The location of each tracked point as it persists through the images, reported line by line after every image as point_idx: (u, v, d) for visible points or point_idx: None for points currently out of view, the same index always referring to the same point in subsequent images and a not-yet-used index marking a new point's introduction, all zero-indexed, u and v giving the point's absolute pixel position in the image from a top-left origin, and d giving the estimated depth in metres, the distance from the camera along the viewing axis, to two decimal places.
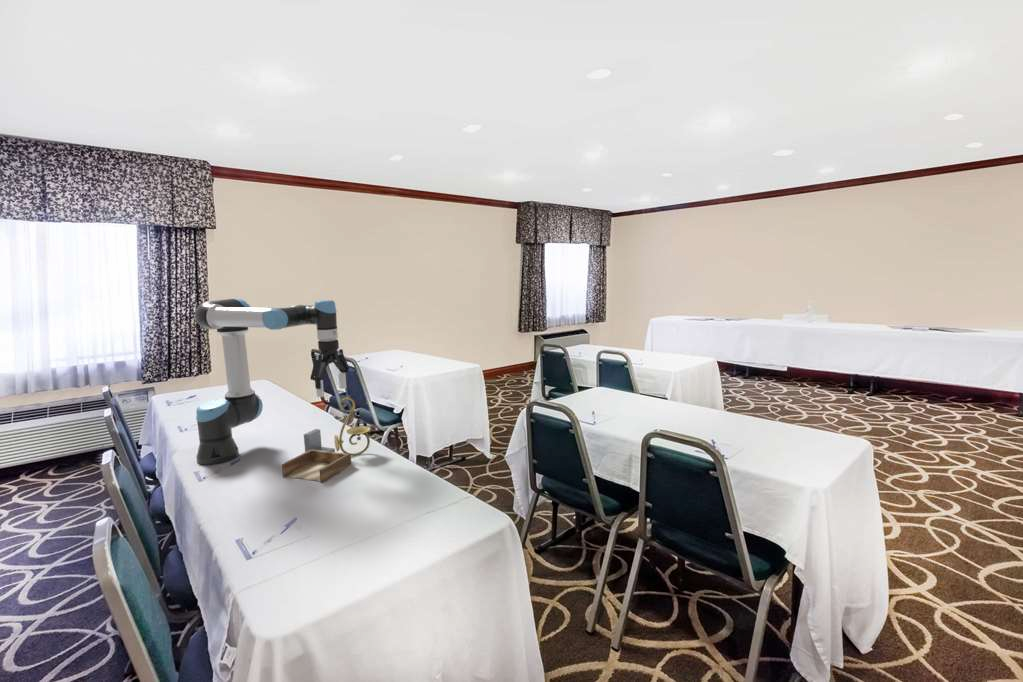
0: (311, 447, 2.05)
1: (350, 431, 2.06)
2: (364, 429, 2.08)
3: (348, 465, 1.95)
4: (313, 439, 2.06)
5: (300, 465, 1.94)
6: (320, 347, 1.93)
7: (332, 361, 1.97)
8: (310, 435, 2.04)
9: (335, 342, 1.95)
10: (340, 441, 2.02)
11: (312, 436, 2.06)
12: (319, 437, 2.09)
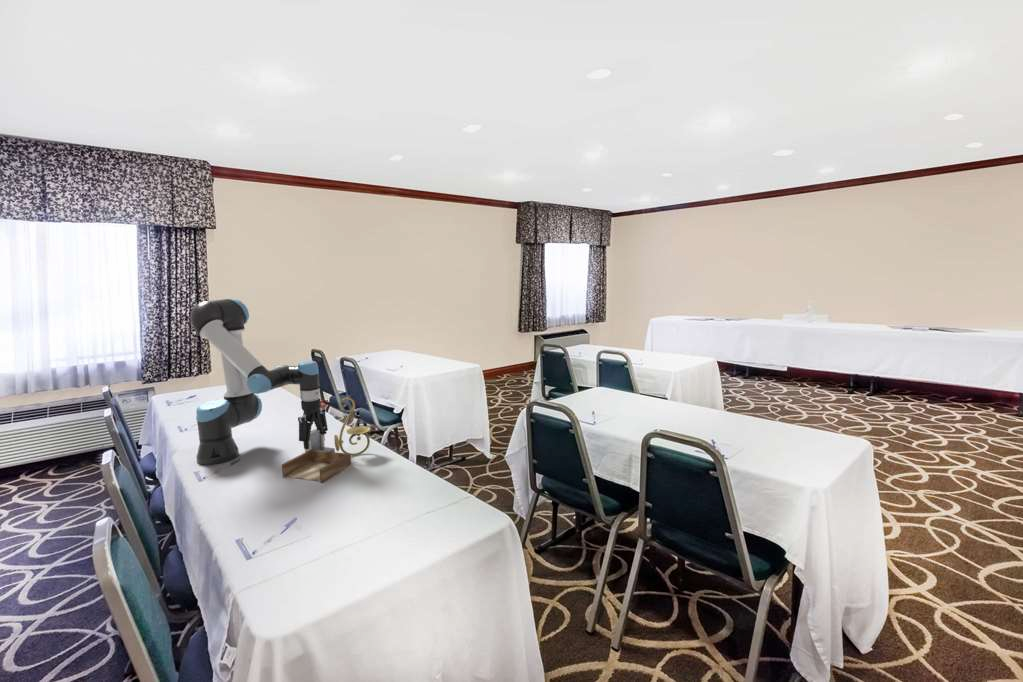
0: (311, 447, 2.05)
1: (350, 431, 2.06)
2: (364, 429, 2.08)
3: (348, 465, 1.95)
4: (313, 439, 2.06)
5: (300, 465, 1.94)
6: (303, 407, 2.02)
7: (315, 419, 2.05)
8: (310, 435, 2.04)
9: (317, 402, 2.03)
10: (340, 441, 2.02)
11: (312, 436, 2.06)
12: (319, 437, 2.09)
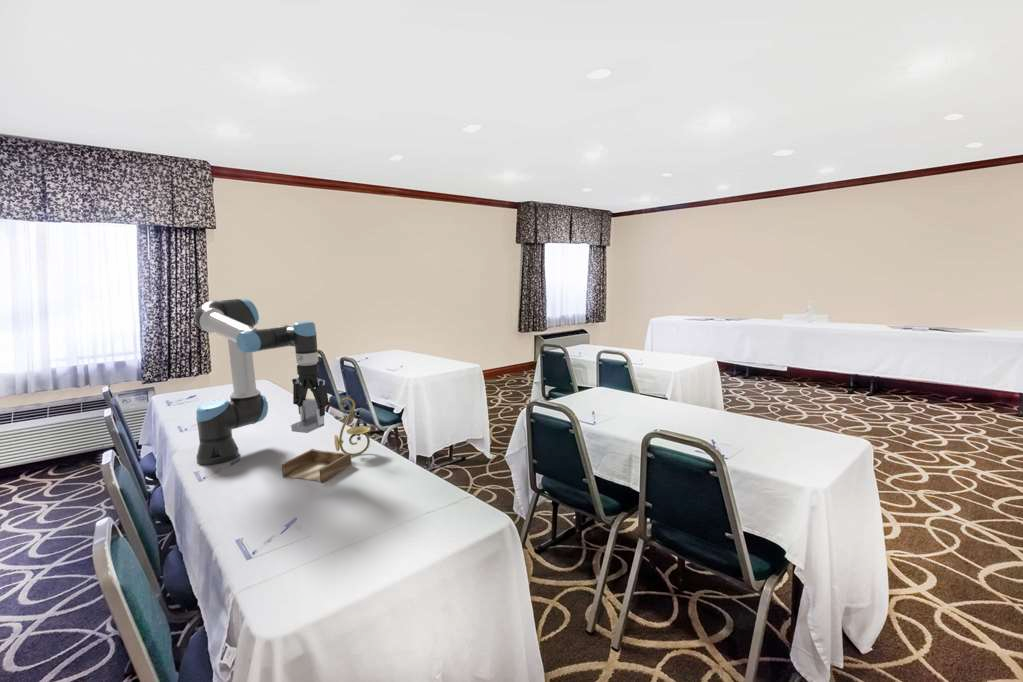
0: (306, 415, 1.88)
1: (350, 431, 2.06)
2: (364, 429, 2.08)
3: (348, 465, 1.95)
4: (308, 407, 1.87)
5: (300, 465, 1.94)
6: None
7: (308, 387, 1.85)
8: (304, 401, 1.87)
9: (300, 368, 1.81)
10: (340, 441, 2.02)
11: (307, 404, 1.87)
12: (315, 409, 1.86)
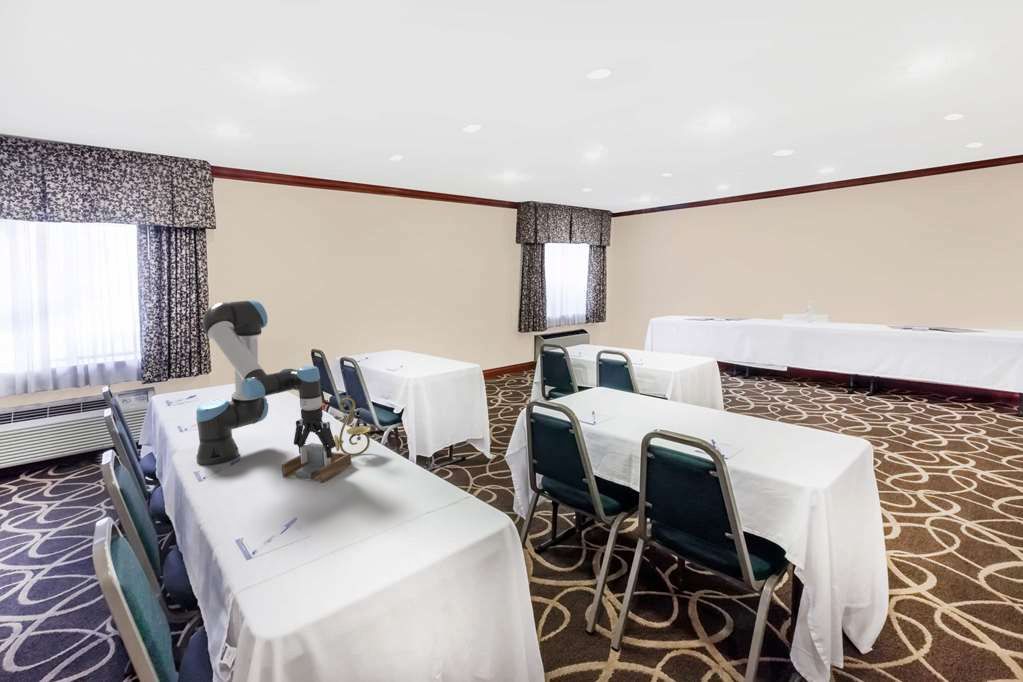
0: (309, 459, 1.90)
1: (350, 431, 2.06)
2: (364, 429, 2.08)
3: (348, 465, 1.95)
4: (312, 452, 1.90)
5: (300, 465, 1.94)
6: None
7: (311, 431, 1.87)
8: (308, 447, 1.90)
9: (303, 412, 1.84)
10: (340, 441, 2.02)
11: (311, 450, 1.89)
12: (319, 454, 1.89)
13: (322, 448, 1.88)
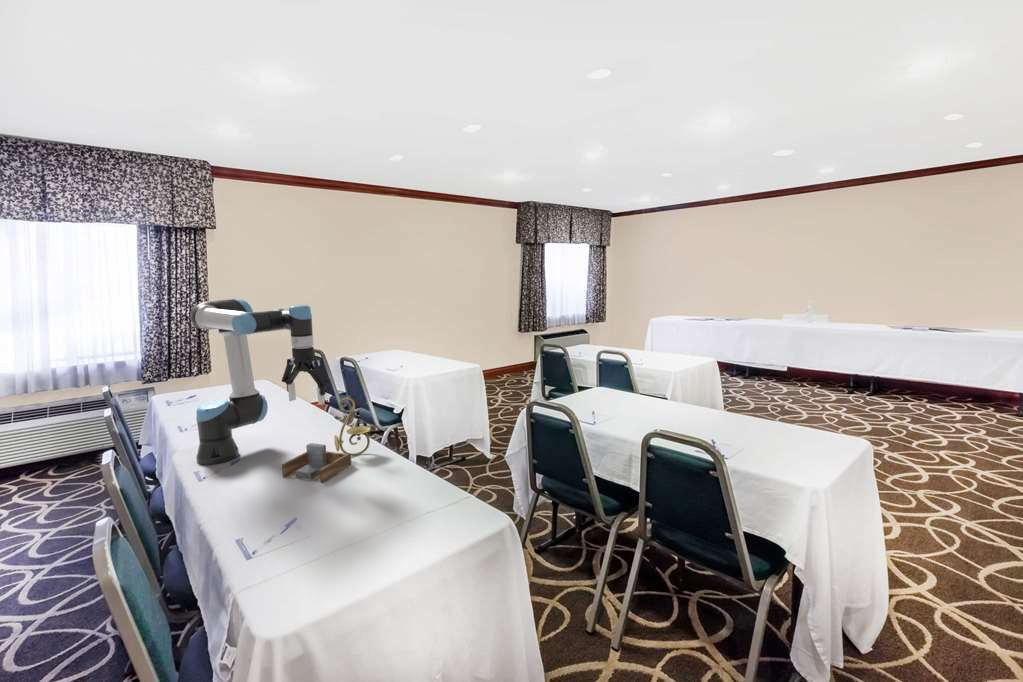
0: (309, 459, 1.90)
1: (350, 431, 2.06)
2: (364, 429, 2.08)
3: (348, 465, 1.95)
4: (312, 452, 1.90)
5: (300, 465, 1.94)
6: None
7: (303, 370, 1.86)
8: (308, 447, 1.90)
9: (295, 351, 1.83)
10: (340, 441, 2.02)
11: (311, 450, 1.89)
12: (319, 454, 1.89)
13: (322, 448, 1.88)
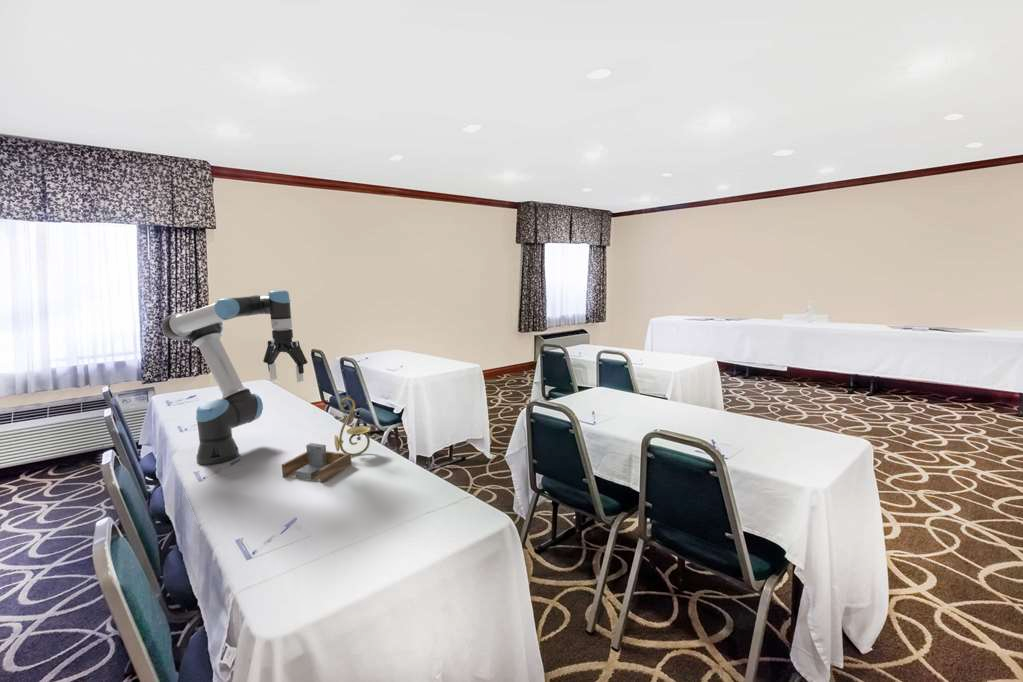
0: (309, 459, 1.90)
1: (350, 431, 2.06)
2: (364, 429, 2.08)
3: (348, 465, 1.95)
4: (312, 452, 1.90)
5: (300, 465, 1.94)
6: None
7: (282, 350, 2.01)
8: (308, 447, 1.90)
9: (274, 332, 1.98)
10: (340, 441, 2.02)
11: (311, 450, 1.89)
12: (319, 454, 1.89)
13: (322, 448, 1.88)
